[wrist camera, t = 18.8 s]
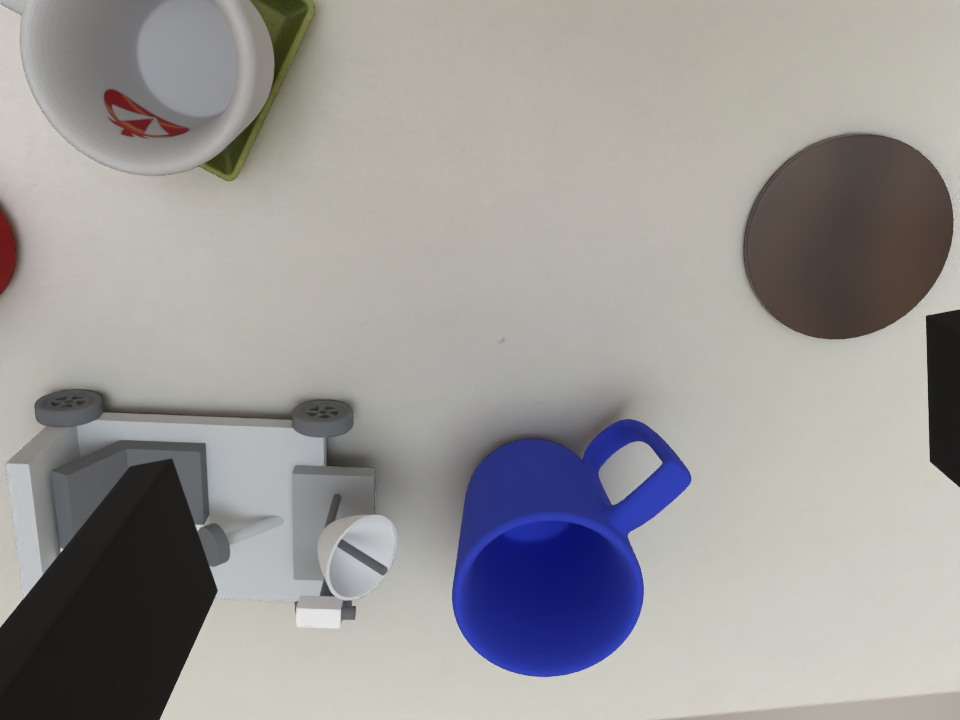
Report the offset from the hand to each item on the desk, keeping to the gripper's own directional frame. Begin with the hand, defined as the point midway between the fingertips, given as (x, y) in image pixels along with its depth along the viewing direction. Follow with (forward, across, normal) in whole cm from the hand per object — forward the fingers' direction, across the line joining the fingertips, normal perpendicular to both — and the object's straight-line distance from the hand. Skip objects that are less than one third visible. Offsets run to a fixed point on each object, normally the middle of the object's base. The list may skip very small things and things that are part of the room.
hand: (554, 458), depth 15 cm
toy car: (+28, -16, -13) cm, 35 cm away
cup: (+26, -12, +10) cm, 30 cm away
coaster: (+28, +16, -5) cm, 33 cm away
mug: (+28, +1, -14) cm, 32 cm away
